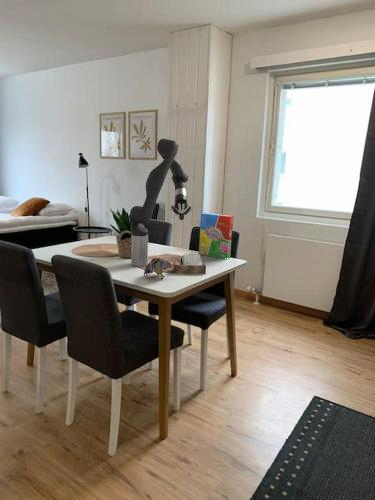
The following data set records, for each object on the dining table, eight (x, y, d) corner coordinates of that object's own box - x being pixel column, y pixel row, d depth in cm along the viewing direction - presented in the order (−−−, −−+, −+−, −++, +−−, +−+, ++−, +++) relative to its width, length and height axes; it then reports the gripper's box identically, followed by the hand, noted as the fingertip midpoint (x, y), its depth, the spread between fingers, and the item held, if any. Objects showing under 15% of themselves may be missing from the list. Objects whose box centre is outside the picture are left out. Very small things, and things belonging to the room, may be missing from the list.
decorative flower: (164, 254, 196) (169, 252, 182) (171, 275, 196) (177, 275, 182) (138, 263, 193) (141, 261, 178) (145, 284, 193) (149, 284, 178)
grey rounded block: (187, 272, 199) (183, 254, 199) (181, 274, 202) (176, 256, 202) (205, 267, 212) (200, 250, 212) (198, 268, 215) (194, 251, 215)
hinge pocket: (174, 273, 197) (174, 265, 196) (173, 269, 204) (173, 261, 203) (205, 273, 199) (206, 265, 198) (203, 270, 206) (204, 262, 205)
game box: (198, 254, 243) (200, 213, 237) (202, 252, 248) (204, 212, 242) (227, 259, 233) (230, 216, 227) (230, 257, 238) (233, 215, 232)
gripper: (170, 192, 227) (171, 215, 218) (191, 193, 229) (193, 215, 220) (169, 200, 234) (170, 222, 224) (190, 201, 235) (191, 223, 226)
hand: (181, 219), depth 222 cm, fingers closed
